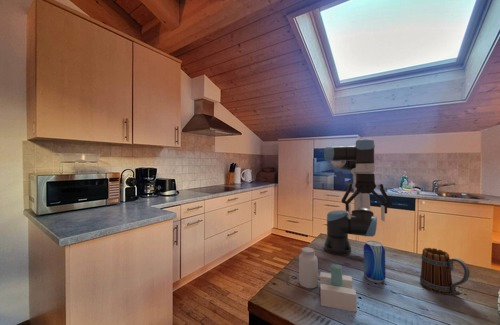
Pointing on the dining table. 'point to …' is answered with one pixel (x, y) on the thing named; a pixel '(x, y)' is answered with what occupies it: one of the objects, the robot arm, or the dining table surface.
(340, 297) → the socket
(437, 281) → the mug
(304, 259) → the pill bottle
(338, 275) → the peg
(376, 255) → the beer can
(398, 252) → the dining table surface
